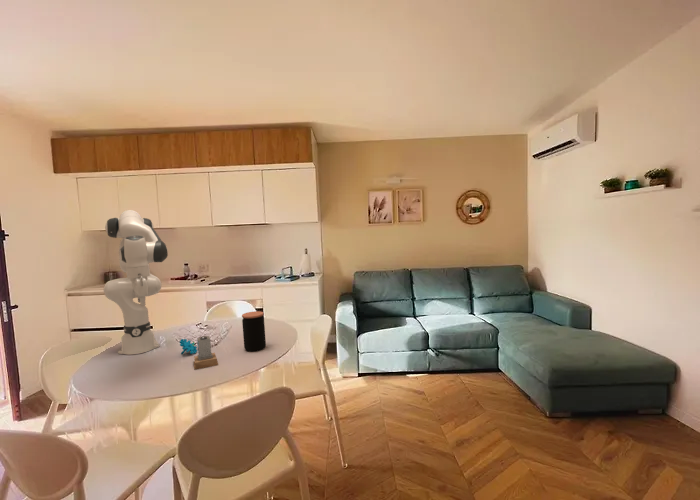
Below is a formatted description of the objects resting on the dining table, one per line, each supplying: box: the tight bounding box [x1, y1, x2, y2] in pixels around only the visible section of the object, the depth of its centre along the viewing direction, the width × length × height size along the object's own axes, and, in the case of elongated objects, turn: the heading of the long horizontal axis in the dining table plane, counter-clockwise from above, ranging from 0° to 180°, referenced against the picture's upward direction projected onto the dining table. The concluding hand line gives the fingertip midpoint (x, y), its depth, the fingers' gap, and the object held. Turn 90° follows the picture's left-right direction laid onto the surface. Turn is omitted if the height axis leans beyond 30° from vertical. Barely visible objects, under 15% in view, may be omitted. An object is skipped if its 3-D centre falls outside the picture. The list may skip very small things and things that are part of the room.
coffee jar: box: [241, 310, 267, 353], centre depth 180 cm, size 11×11×18 cm
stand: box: [193, 352, 219, 371], centre depth 163 cm, size 10×10×3 cm
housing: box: [196, 335, 213, 361], centre depth 163 cm, size 6×6×10 cm
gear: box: [179, 338, 198, 355], centre depth 179 cm, size 11×6×10 cm
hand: (141, 303), depth 157 cm, fingers open, 8 cm apart
